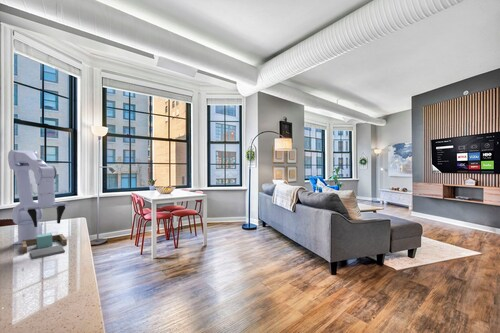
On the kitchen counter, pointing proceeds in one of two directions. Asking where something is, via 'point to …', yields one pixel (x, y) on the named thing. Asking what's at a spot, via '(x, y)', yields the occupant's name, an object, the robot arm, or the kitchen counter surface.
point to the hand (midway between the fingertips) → (47, 225)
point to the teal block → (44, 240)
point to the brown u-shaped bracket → (34, 241)
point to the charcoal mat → (47, 251)
